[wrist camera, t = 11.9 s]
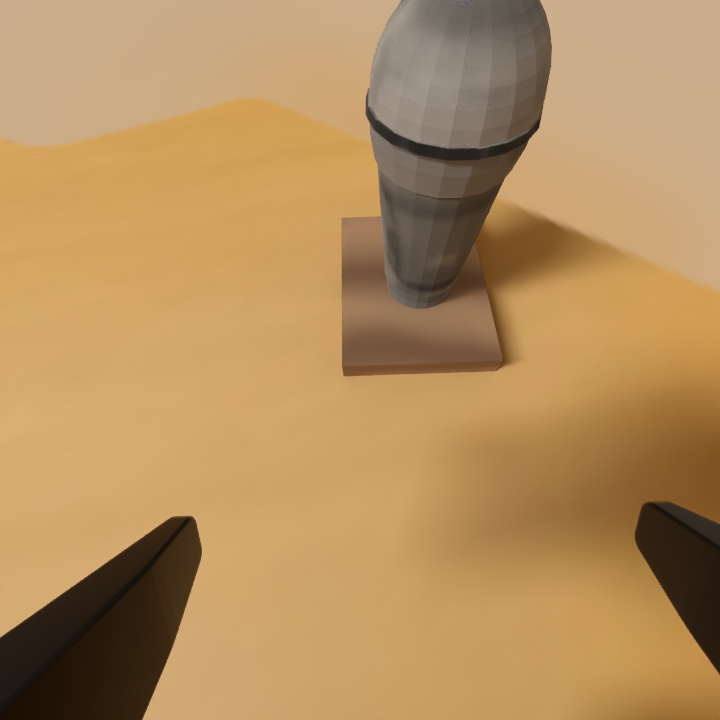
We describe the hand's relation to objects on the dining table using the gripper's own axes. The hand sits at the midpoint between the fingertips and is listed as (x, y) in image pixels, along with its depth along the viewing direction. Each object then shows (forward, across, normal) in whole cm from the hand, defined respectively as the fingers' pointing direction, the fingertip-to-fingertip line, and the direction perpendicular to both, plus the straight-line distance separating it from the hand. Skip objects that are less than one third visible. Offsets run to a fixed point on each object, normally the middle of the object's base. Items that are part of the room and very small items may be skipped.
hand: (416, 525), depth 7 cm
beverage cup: (+20, -3, -3) cm, 20 cm away
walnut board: (+21, -3, -2) cm, 21 cm away
